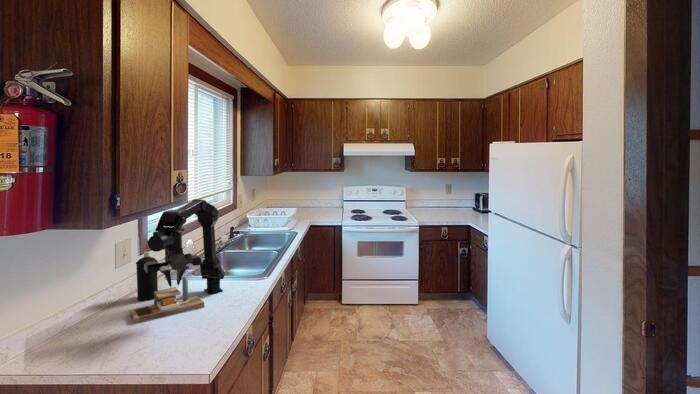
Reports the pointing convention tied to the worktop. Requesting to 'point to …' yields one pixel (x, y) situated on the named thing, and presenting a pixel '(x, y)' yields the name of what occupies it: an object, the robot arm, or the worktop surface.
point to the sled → (177, 303)
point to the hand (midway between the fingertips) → (174, 285)
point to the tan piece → (154, 311)
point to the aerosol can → (146, 280)
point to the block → (167, 301)
